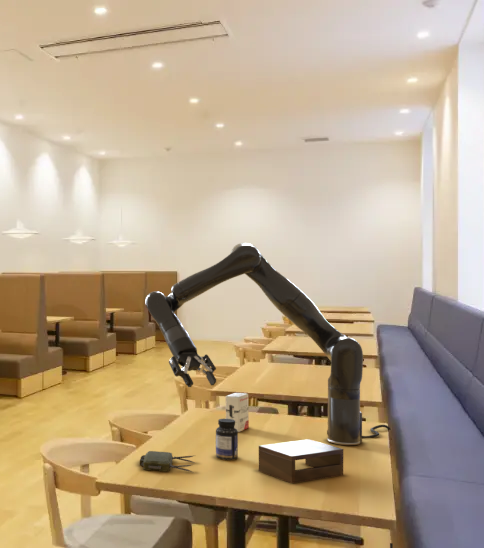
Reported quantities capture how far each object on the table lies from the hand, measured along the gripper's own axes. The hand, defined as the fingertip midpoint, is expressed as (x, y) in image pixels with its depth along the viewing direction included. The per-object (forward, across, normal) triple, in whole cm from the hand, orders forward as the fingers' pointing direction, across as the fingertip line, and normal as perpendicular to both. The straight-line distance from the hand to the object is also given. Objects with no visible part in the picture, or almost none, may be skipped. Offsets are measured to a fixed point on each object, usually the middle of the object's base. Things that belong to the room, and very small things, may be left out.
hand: (202, 384), depth 221 cm
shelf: (+36, +8, -9) cm, 38 cm away
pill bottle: (+22, 0, +6) cm, 23 cm away
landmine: (+22, -21, +6) cm, 31 cm away
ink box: (+2, +28, +26) cm, 38 cm away
